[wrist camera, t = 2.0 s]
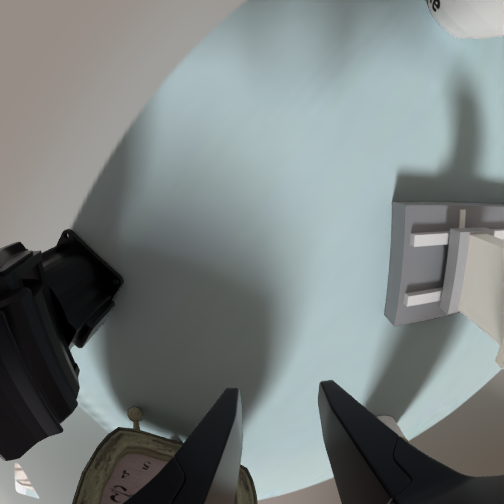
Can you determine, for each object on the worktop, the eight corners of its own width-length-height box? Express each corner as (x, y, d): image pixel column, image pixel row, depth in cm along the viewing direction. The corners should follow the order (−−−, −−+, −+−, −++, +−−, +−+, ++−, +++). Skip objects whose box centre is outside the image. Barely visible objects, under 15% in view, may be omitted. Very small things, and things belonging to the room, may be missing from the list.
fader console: (384, 314, 21) (397, 330, 18) (392, 201, 18) (409, 206, 16) (504, 289, 21) (518, 298, 18) (515, 204, 18) (532, 209, 16)
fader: (438, 312, 18) (501, 371, 10) (450, 222, 16) (535, 255, 8) (472, 304, 18) (534, 352, 10) (485, 222, 16) (562, 250, 8)
